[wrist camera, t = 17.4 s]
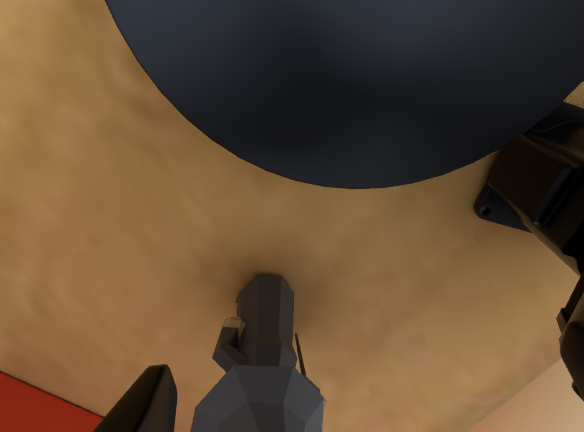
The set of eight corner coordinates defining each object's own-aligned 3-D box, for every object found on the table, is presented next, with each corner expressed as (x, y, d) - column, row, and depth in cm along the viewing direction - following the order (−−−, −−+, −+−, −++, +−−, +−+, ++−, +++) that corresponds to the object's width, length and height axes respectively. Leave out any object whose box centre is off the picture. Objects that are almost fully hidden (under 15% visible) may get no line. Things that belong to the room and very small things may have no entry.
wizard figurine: (196, 308, 24) (141, 548, 14) (243, 239, 22) (219, 461, 12) (313, 357, 27) (341, 594, 16) (365, 299, 25) (435, 528, 14)
